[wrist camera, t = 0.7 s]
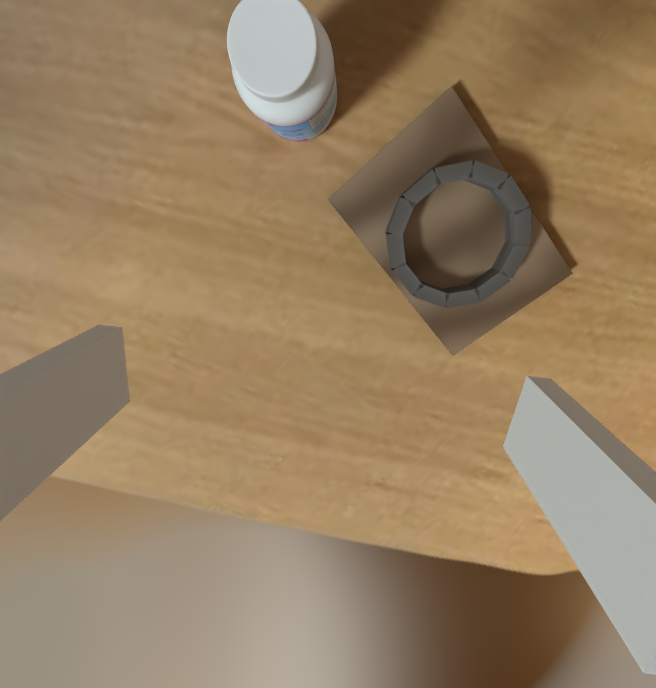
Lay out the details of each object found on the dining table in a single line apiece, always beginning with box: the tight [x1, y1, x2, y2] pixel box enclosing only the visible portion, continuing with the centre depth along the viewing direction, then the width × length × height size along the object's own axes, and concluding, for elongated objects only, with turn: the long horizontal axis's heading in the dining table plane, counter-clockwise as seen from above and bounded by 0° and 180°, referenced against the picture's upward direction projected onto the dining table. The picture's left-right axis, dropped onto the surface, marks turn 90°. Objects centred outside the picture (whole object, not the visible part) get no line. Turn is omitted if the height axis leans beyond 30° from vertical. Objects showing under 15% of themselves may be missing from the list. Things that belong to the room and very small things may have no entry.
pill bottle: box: [227, 0, 337, 143], centre depth 24 cm, size 6×6×11 cm
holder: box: [328, 86, 573, 355], centre depth 31 cm, size 18×12×3 cm, turn 41°
